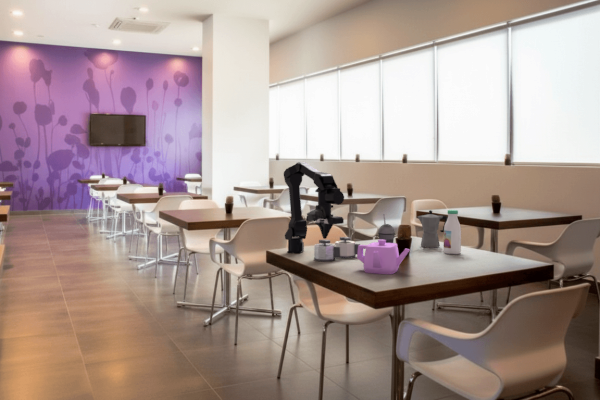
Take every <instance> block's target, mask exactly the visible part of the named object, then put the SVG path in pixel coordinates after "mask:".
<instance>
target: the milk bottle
mask: <svg viewBox="0 0 600 400" xmlns="http://www.w3.org/2000/svg"><path fill="white" fill-rule="evenodd" d="M458 214H459V210H457V209H449V210H447V218H448V219H447V221H446V223H445V222H444V223H445V226H444V225H443V226H444V232H443V253H444V254H447V255H460V254H461V253H462V252H461V251H462V227H461V224H460V221H459V219H458Z"/></svg>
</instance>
